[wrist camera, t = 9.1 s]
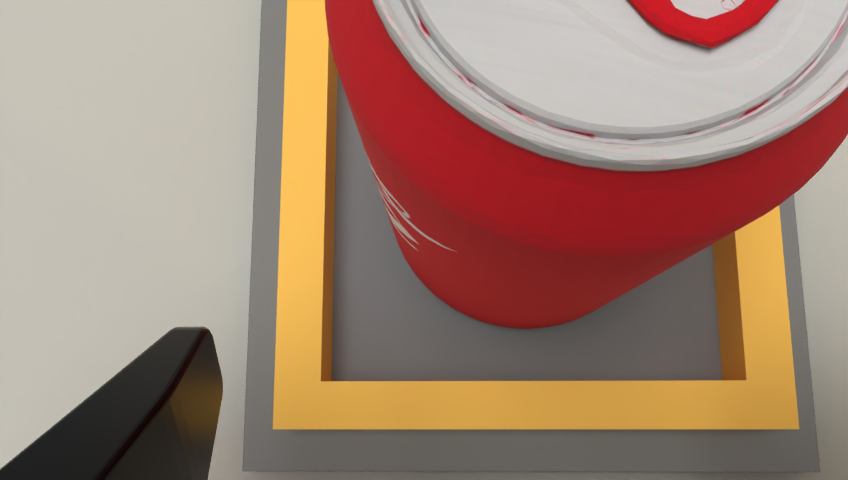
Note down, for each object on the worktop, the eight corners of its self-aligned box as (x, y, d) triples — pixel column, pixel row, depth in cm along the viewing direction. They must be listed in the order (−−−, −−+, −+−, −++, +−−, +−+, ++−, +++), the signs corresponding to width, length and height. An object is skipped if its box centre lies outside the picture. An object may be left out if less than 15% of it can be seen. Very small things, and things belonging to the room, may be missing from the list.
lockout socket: (803, 468, 18) (853, 479, 16) (251, 468, 19) (223, 478, 16) (757, -41, 21) (795, -93, 19) (270, -31, 21) (249, -81, 19)
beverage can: (535, 34, 20) (665, -502, 8) (703, 221, 19) (1142, -74, 7) (338, 184, 19) (164, -152, 7) (501, 387, 18) (603, 376, 6)
